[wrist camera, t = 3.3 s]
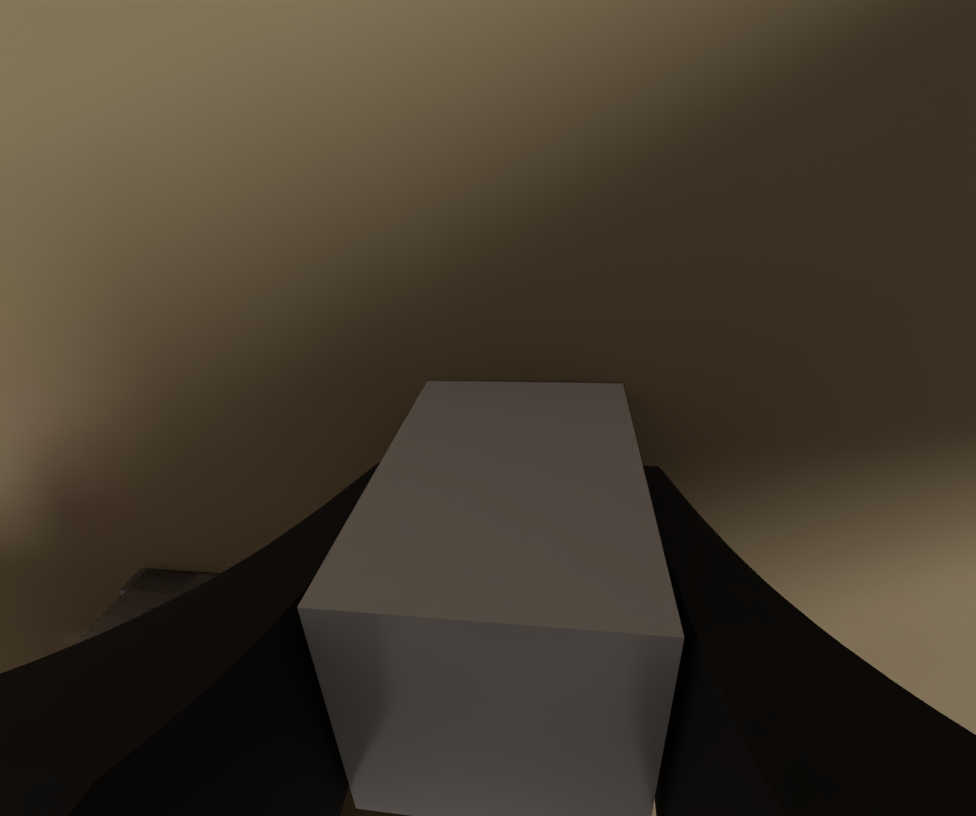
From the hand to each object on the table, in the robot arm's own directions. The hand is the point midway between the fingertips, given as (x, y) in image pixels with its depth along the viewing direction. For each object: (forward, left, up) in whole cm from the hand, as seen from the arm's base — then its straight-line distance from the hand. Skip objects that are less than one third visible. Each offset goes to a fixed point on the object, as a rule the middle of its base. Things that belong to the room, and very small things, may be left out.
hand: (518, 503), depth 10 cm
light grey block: (0, 0, -1) cm, 1 cm away
